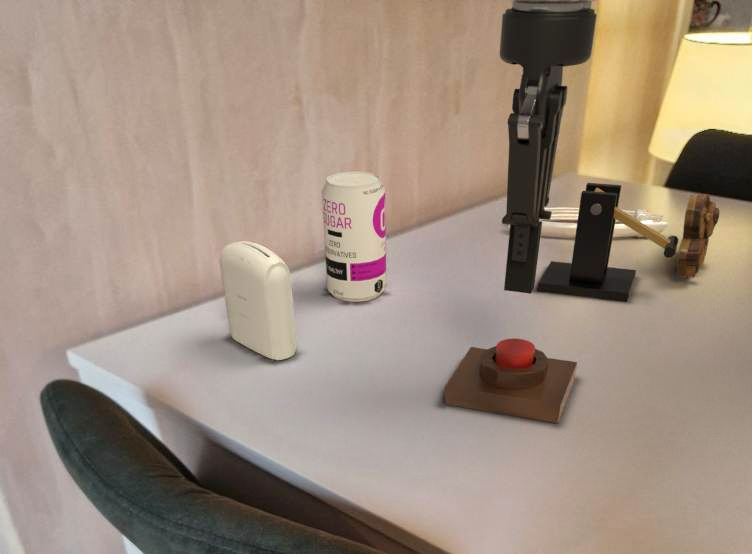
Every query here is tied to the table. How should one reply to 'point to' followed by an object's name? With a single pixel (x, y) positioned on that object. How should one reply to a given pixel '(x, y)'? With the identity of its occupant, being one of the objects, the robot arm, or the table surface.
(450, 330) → the table surface
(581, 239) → the bracket
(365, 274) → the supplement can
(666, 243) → the lever
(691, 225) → the wooden carving
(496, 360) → the button
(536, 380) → the button block
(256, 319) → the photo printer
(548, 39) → the robot arm
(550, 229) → the white piece
